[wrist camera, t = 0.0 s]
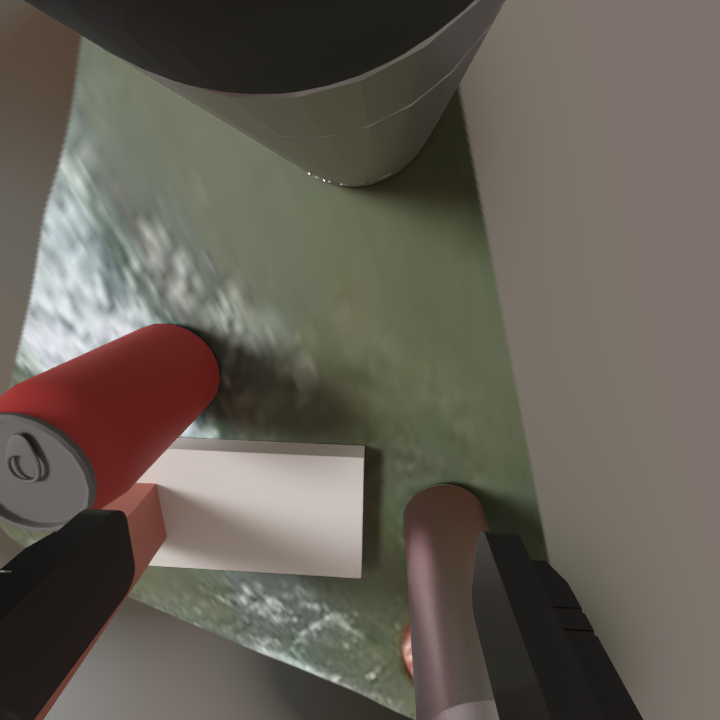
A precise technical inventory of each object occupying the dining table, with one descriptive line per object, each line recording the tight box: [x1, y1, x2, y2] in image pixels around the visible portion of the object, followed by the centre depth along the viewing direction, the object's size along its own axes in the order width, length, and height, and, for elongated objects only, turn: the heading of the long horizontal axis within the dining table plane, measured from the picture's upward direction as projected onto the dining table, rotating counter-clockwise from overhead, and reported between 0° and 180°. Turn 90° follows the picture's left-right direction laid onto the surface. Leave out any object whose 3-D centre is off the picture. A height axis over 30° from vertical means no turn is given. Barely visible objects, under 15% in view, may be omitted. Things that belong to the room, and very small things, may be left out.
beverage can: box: [403, 484, 499, 720], centre depth 22 cm, size 6×6×15 cm
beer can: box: [0, 324, 220, 532], centre depth 21 cm, size 7×7×12 cm
